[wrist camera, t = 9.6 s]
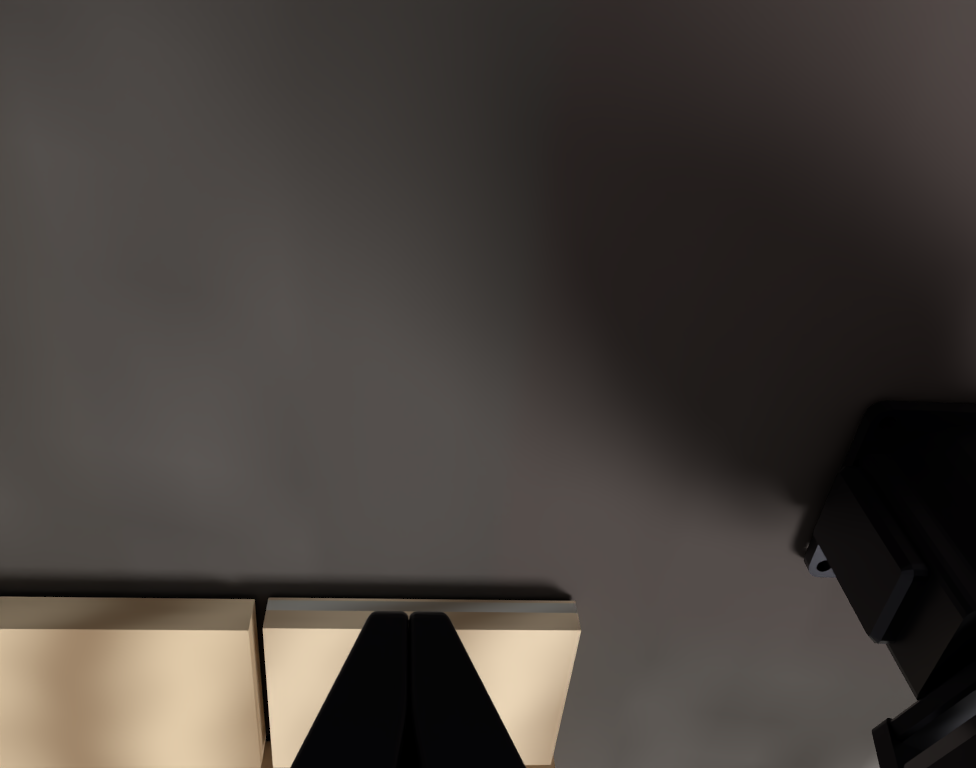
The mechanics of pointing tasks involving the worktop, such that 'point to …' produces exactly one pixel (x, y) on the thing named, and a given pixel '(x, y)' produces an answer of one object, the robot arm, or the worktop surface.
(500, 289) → the worktop surface
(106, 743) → the plank
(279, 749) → the plank
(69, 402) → the worktop surface
